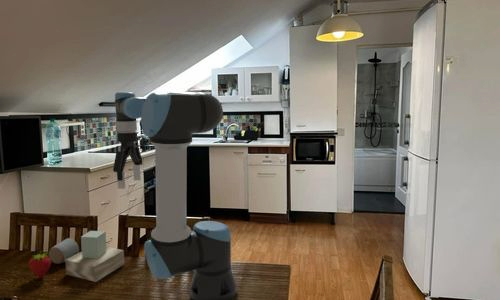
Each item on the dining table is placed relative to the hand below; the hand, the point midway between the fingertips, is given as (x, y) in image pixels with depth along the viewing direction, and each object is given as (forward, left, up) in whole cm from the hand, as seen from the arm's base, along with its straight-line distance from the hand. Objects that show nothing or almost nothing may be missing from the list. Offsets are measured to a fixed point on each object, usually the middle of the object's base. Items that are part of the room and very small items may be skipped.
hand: (129, 184), depth 138 cm
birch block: (+7, +16, -29) cm, 34 cm away
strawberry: (+23, +24, -29) cm, 44 cm away
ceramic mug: (+22, +11, -29) cm, 38 cm away
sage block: (+7, +16, -23) cm, 29 cm away
